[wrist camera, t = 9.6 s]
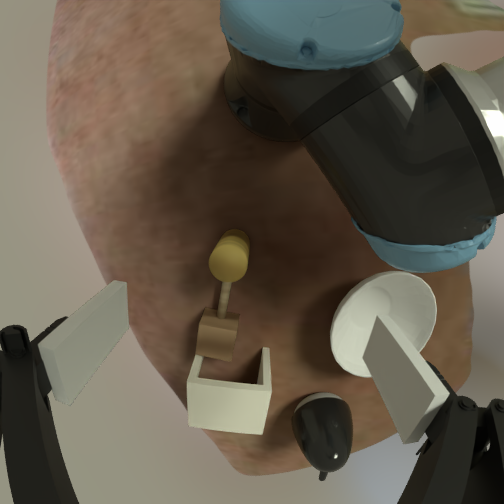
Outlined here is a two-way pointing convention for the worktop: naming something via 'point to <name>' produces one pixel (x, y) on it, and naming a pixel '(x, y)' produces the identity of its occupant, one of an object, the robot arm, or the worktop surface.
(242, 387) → the cream u-shaped stand
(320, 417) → the pump dispenser
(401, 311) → the bowl
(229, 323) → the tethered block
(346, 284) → the worktop surface
